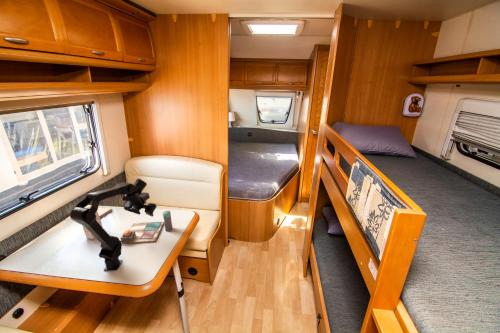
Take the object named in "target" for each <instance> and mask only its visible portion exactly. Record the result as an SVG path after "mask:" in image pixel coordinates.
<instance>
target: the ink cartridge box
mask: <svg viewBox="0 0 500 333" xmlns="http://www.w3.org/2000/svg"><path fill="white" fill-rule="evenodd" d="M95 215H96V221H97V222H98V223H99V224H100V225H101V226H102V228H103V229H104V227H103V224H102V221H101V219H100V216H99V214H98V212H96V213H95ZM81 226H82V229H83V232H84V236H85V238H86V239H91V240H94V239H95V238H96V237H95V236H94V235H93V234H92V233H91V232H90V231H89V230H88V229H87V228H86V227H85V226H84V225H81Z"/></svg>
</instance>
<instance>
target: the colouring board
mask: <svg viewBox="0 0 500 333" xmlns="http://www.w3.org/2000/svg"><path fill="white" fill-rule="evenodd" d="M164 226H165V224H164V221H154V222H134V223H133V224H132V225H131V226H130V228H129V229H128V230H130V233H131V236H130V237H125V234H124V233H123V234H122V235H121V237H120V239H119V240H120V241H122V242H121V243H122V245H131V244H145V243H147V244H148V243H156V242H157V239H158V237H159V236H160V233H161V232H162V229H163V227H164Z"/></svg>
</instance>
